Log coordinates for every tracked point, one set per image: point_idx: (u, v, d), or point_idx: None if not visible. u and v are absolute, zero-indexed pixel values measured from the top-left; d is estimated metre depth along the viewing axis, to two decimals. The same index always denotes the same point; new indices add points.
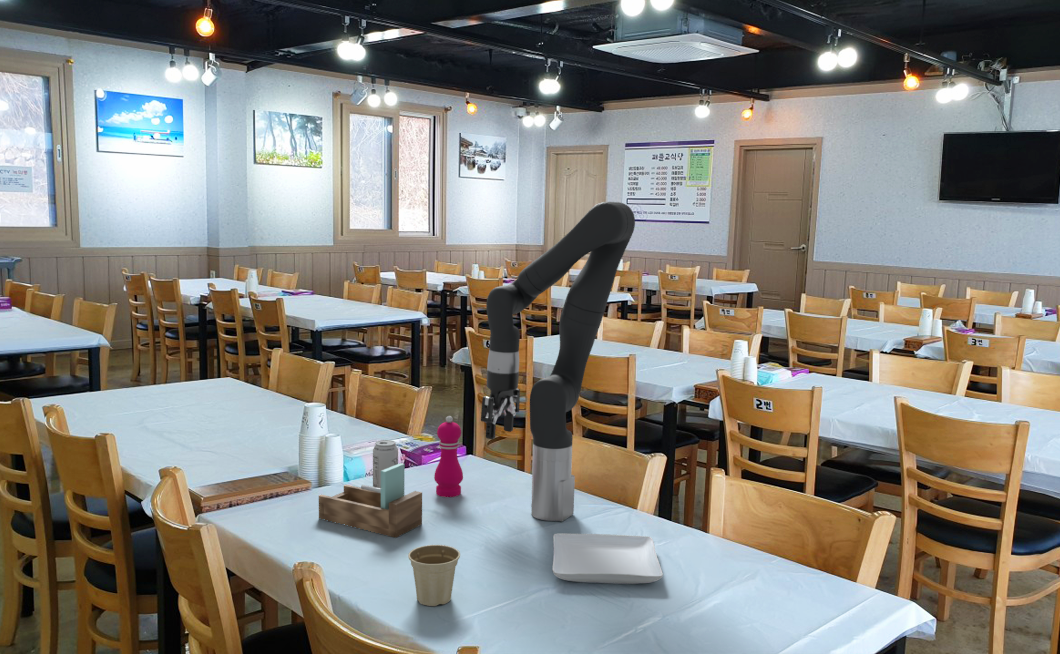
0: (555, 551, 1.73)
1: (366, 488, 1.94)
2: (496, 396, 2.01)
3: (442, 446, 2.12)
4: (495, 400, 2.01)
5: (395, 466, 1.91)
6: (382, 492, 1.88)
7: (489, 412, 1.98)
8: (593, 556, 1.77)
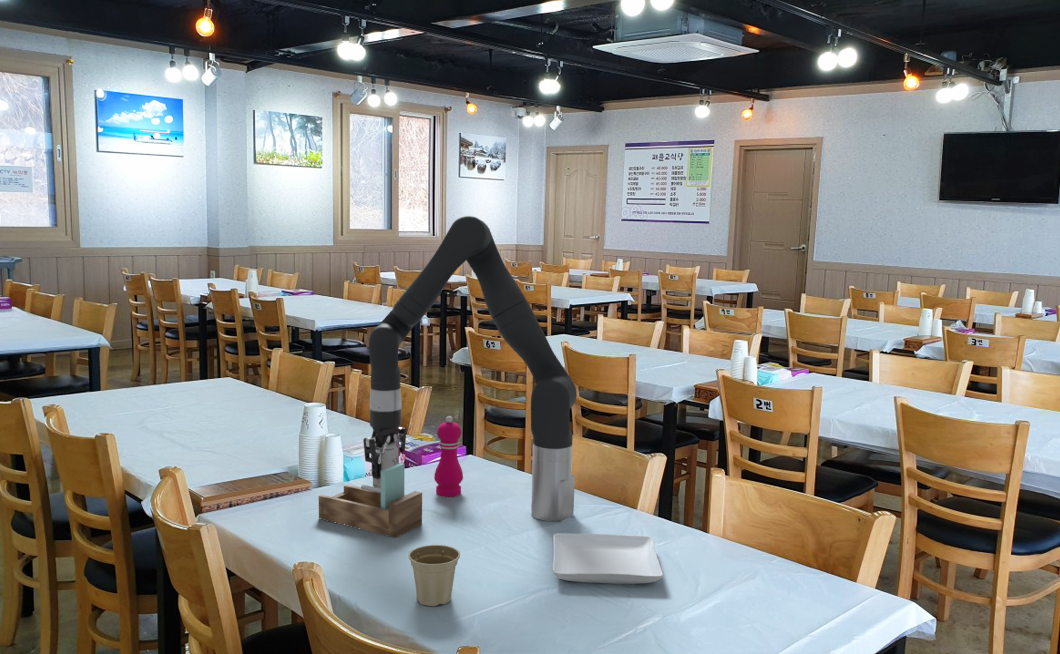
0: (555, 551, 1.73)
1: (366, 488, 1.94)
2: (377, 435, 2.02)
3: (442, 446, 2.12)
4: (377, 439, 2.02)
5: (395, 466, 1.91)
6: (382, 492, 1.88)
7: (371, 453, 2.00)
8: (593, 556, 1.77)
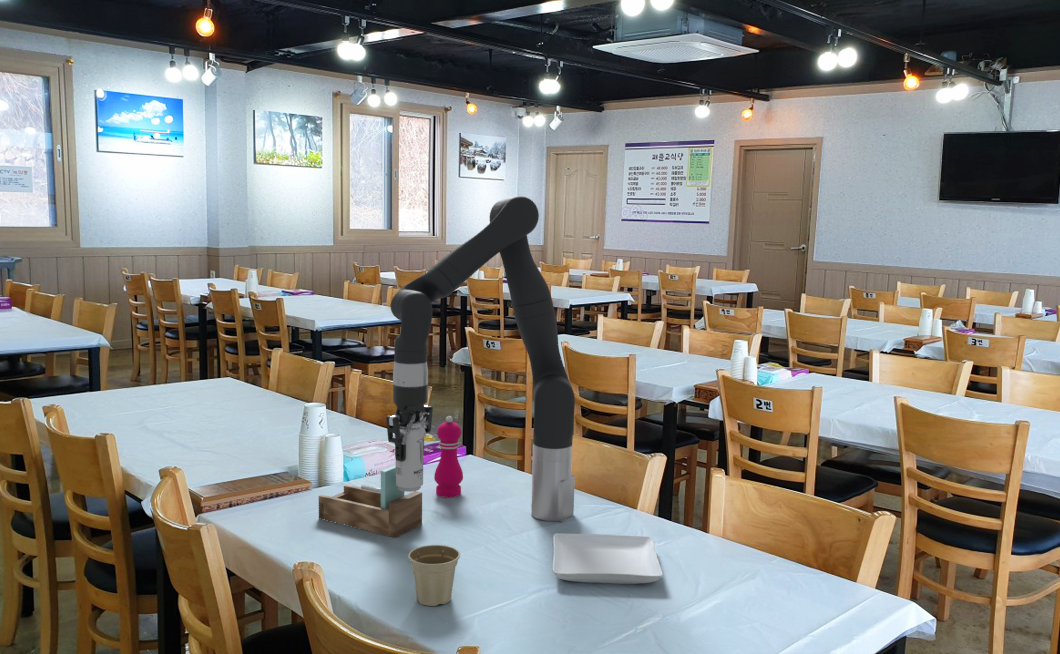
0: (555, 551, 1.73)
1: (366, 488, 1.94)
2: (402, 413, 1.82)
3: (442, 446, 2.12)
4: (401, 417, 1.83)
5: (395, 466, 1.91)
6: (382, 492, 1.88)
7: (395, 433, 1.81)
8: (593, 556, 1.77)
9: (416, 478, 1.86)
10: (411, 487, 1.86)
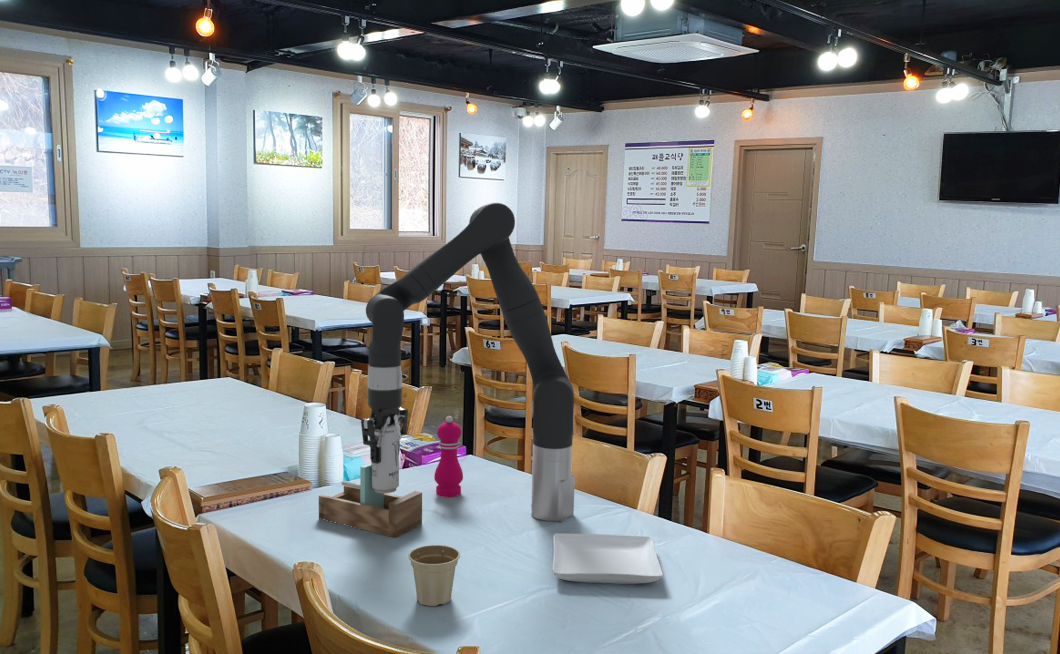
0: (555, 551, 1.73)
1: (346, 484, 1.96)
2: (376, 416, 1.86)
3: (442, 446, 2.12)
4: (376, 420, 1.86)
5: None
6: (362, 488, 1.90)
7: (370, 435, 1.84)
8: (593, 556, 1.77)
9: (392, 480, 1.89)
10: (387, 489, 1.89)
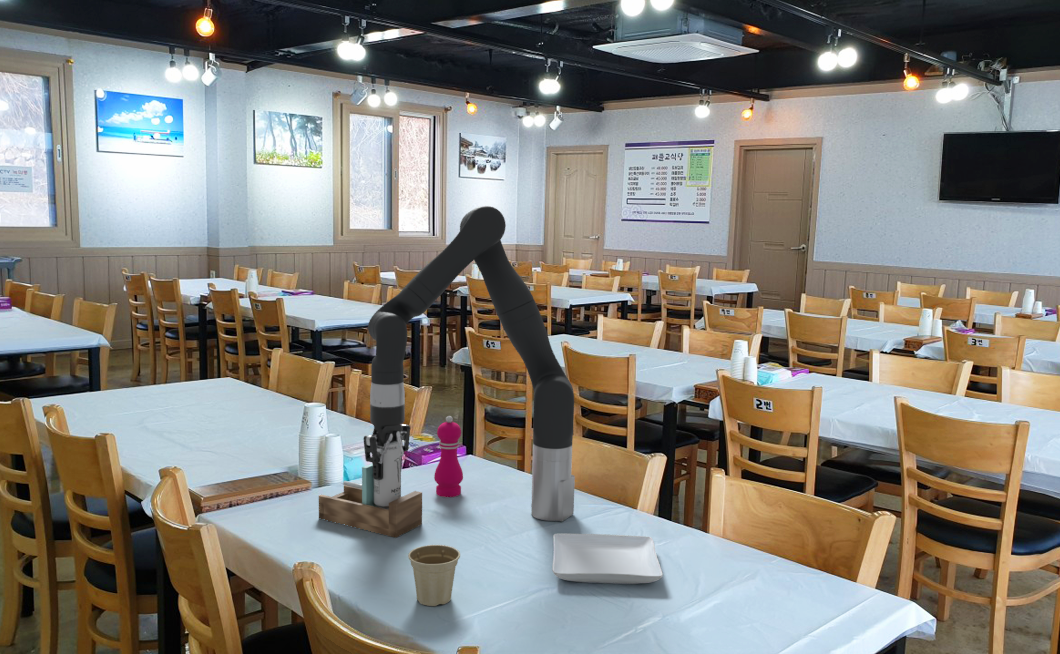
0: (555, 551, 1.73)
1: (348, 484, 1.96)
2: (379, 433, 1.86)
3: (442, 446, 2.12)
4: (378, 437, 1.86)
5: None
6: (363, 488, 1.90)
7: (372, 452, 1.84)
8: (593, 556, 1.77)
9: (394, 497, 1.90)
10: None
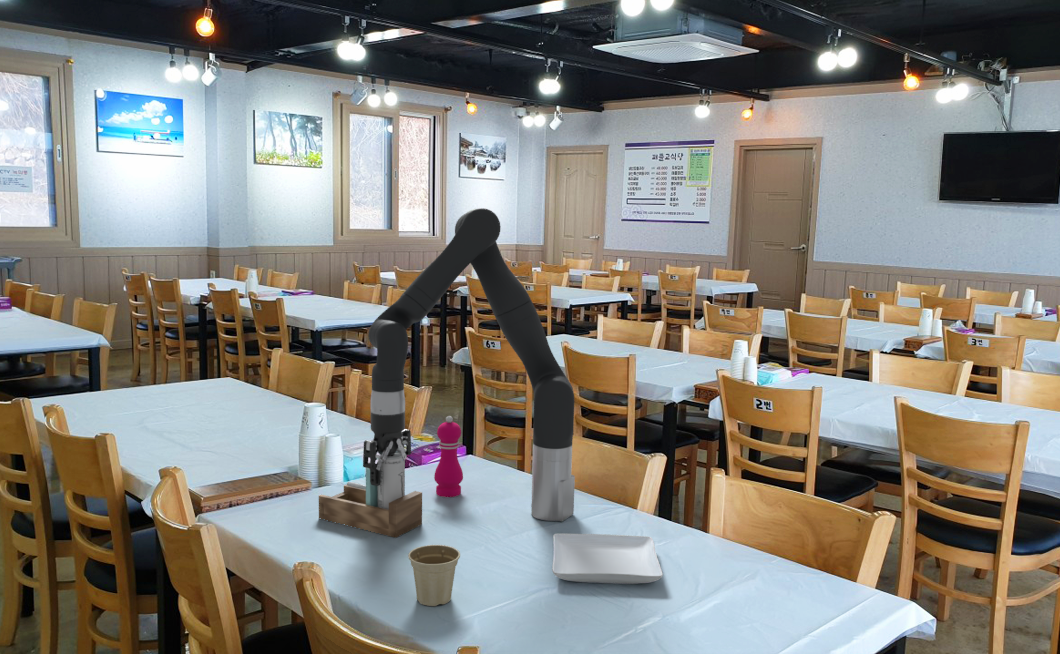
0: (555, 551, 1.73)
1: (352, 485, 1.96)
2: (379, 439, 1.86)
3: (442, 446, 2.12)
4: (378, 444, 1.86)
5: None
6: (367, 489, 1.90)
7: (371, 457, 1.84)
8: (593, 556, 1.77)
9: None
10: None
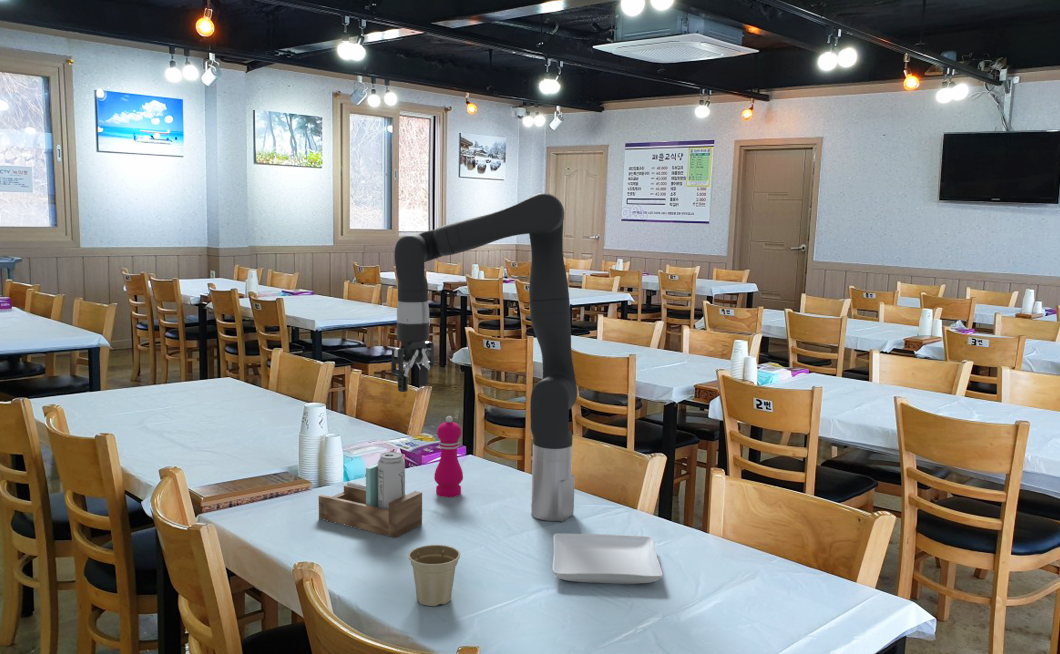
0: (555, 551, 1.73)
1: (352, 485, 1.96)
2: (406, 347, 1.97)
3: (442, 446, 2.12)
4: (405, 351, 1.97)
5: None
6: (367, 489, 1.90)
7: (399, 363, 1.94)
8: (593, 556, 1.77)
9: None
10: None
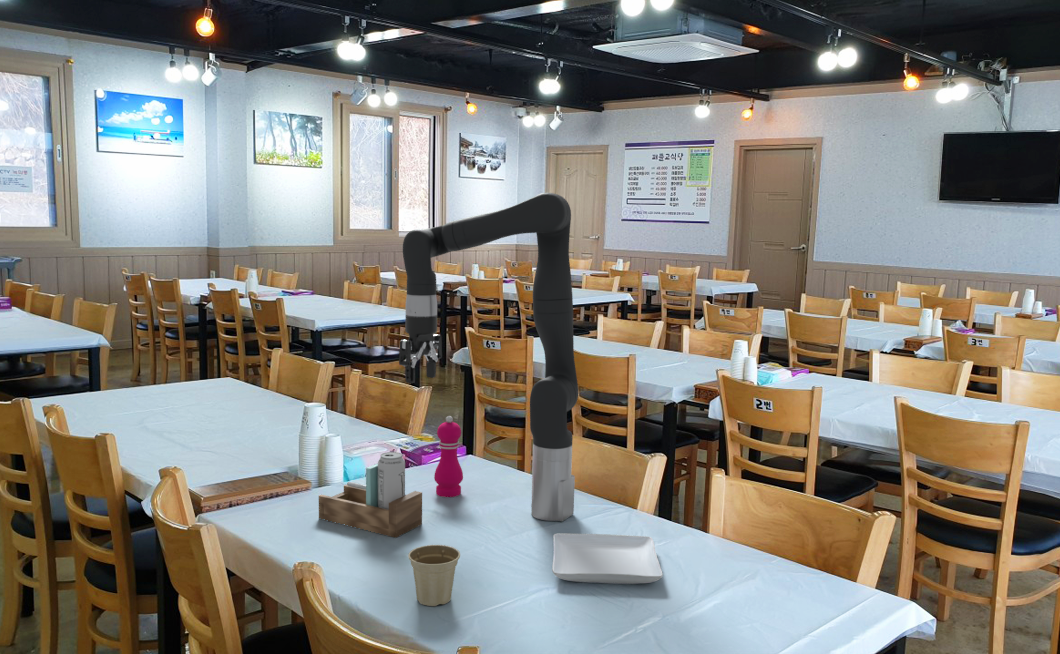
0: (555, 551, 1.73)
1: (352, 485, 1.96)
2: (414, 339, 2.01)
3: (442, 446, 2.12)
4: (413, 343, 2.01)
5: None
6: (367, 489, 1.90)
7: (406, 355, 1.99)
8: (593, 556, 1.77)
9: None
10: None
